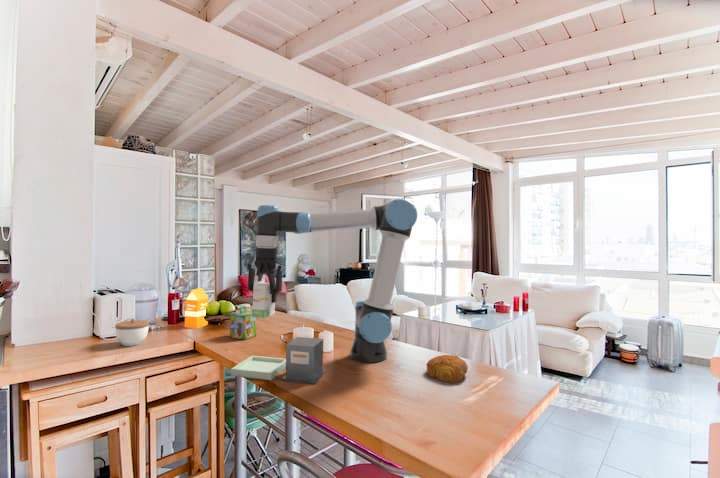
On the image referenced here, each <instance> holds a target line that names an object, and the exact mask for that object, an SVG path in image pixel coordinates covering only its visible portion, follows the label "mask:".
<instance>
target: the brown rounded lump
mask: <svg viewBox="0 0 720 478" xmlns="http://www.w3.org/2000/svg"><path fill="white" fill-rule="evenodd" d="M426 372H427V375H429V377H430V378H433V379H435V380H437V379H438V380H439V381H441V382H446V383H452V384H453V383H454V382H455V383H457V382H459V381H461V380H462V379H463V377H465V375H466V374H467V373H468V364H467V362H466V361H465V360H464V359H462V358H460V357H459V356H458V355H452V354H443V355H438V356H435V357H433V358H431V359H429V360H428V361H427V363H426Z"/></svg>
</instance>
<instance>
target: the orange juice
mask: <svg viewBox="0 0 720 478" xmlns="http://www.w3.org/2000/svg"><path fill="white" fill-rule="evenodd" d="M184 305H185V306H184V307H185V308H184V328H190V329H191V328H192V329H199V328H203V327H205V326H207V325H208V321H206V320H205V319H204V317H205V316H206V309H207V308H206V307H208V308H209V298H208V296H207V293H206V292H205V290H204V288H203V287H201V288H195V289H194V288H193V289H191V291H190V292H189V293H188V296H187V297H186V298H185V304H184Z"/></svg>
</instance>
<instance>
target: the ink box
mask: <svg viewBox="0 0 720 478" xmlns="http://www.w3.org/2000/svg"><path fill="white" fill-rule="evenodd" d="M270 293H271V290H270V285H269V282H266V274H263V276H262V279H261V281H259V282H258V276H256V275H255V277H254V285H253V292H252V298H253V300H252V306H251V309H252V310H251V312H252V317H257V318H258V319H259V318H260V319H266V318H267V317H271V316H273V315H275V308H276V302H275V303H274V311H272V312H268V306H269V294H270Z"/></svg>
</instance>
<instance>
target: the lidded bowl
mask: <svg viewBox="0 0 720 478" xmlns="http://www.w3.org/2000/svg"><path fill="white" fill-rule="evenodd" d="M149 326H150V322H149V320H145V319H135V318H131V319H130V320H125V321H120V322H117V323H116V324H115V326H114V327H115V337H116V340H117V341H118V342H119V343H120V344H121V345H122V346H123V347H133V346H139V345H141V344H142V342H143V341H145V339H146V338H147V336H148V335H149V334H148V333H149V329H150V327H149ZM138 344H139V345H138Z"/></svg>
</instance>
